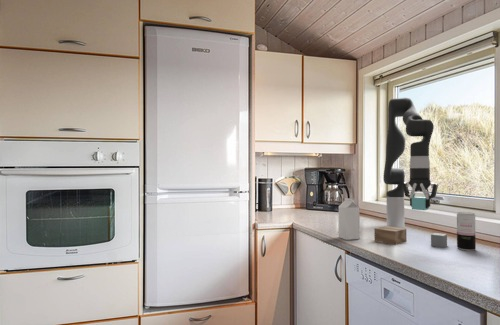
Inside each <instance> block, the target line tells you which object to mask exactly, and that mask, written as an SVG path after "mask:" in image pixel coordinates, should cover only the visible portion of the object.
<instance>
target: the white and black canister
mask: <svg viewBox="0 0 500 325" xmlns="http://www.w3.org/2000/svg"><path fill="white" fill-rule="evenodd" d="M475 213H476V212H475ZM475 213H474V212H473V211H472V212H470V211H457V212H456V247H457V249H459V250H463V251H469V252H471V251H475V250H476V249H477V247H476V237H477V236H476V214H475Z"/></svg>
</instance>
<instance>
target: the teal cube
mask: <svg viewBox="0 0 500 325" xmlns="http://www.w3.org/2000/svg"><path fill="white" fill-rule="evenodd" d="M411 210H414V211H415V210H417V211H427V210H429V208H426V197H425V196H414V197H412V207H411Z"/></svg>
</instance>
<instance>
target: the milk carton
mask: <svg viewBox="0 0 500 325" xmlns="http://www.w3.org/2000/svg"><path fill="white" fill-rule="evenodd" d="M360 218H361V217H360V206H358V205H357V204H356V202H355V201H354V199H353V198H347V197H345V198H344V201H342V202H341V204H339V205H338V238H340V239H343V240H345V241H349V240H350V241H351V240H360V239H361V237H360V235H361V232H360V228H361V227H360Z"/></svg>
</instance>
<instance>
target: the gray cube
mask: <svg viewBox="0 0 500 325" xmlns="http://www.w3.org/2000/svg"><path fill="white" fill-rule="evenodd" d="M430 246H431V247H437V248H446V247H447V246H448V233H440V232H439V233H438V232H434V233H431V234H430Z"/></svg>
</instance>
